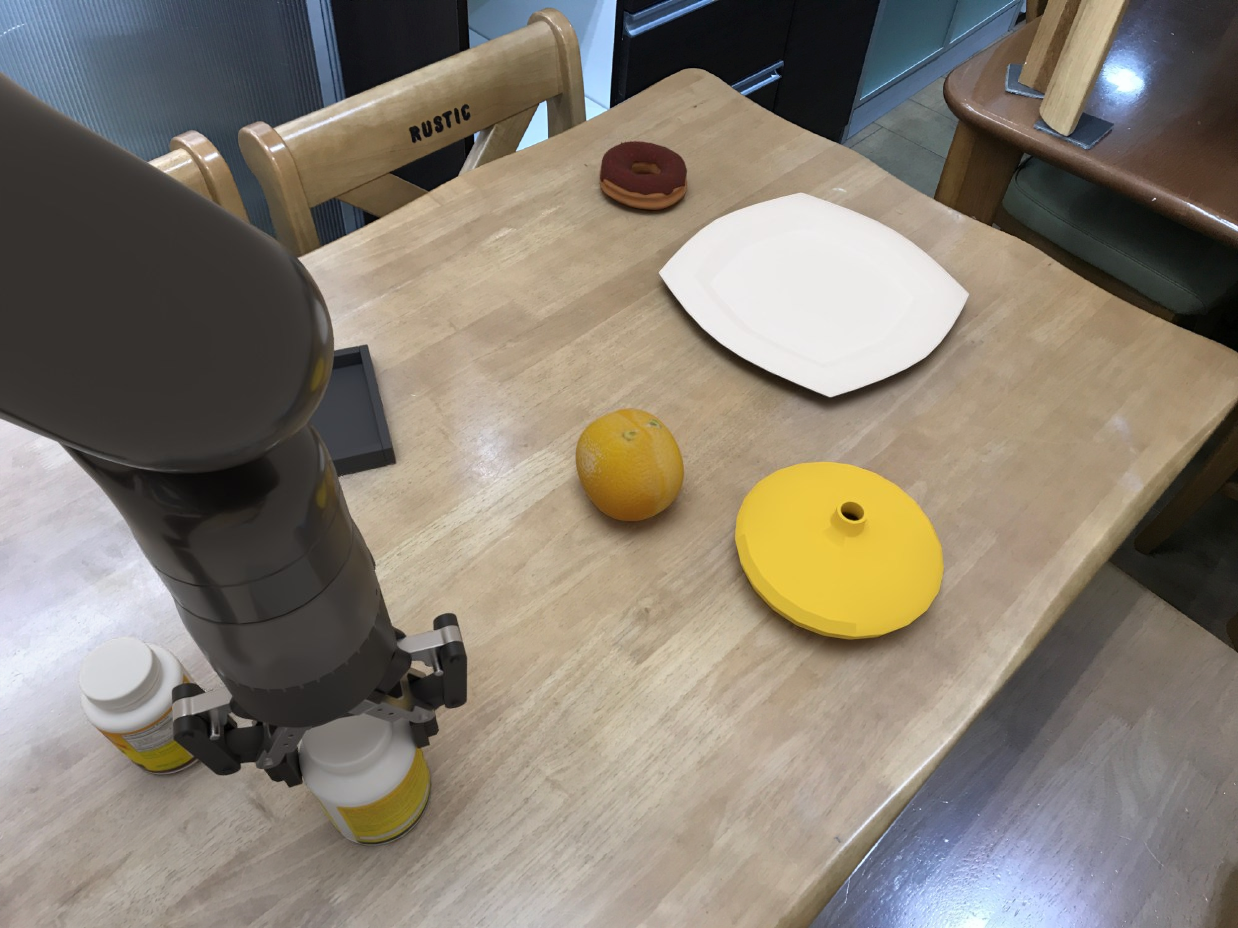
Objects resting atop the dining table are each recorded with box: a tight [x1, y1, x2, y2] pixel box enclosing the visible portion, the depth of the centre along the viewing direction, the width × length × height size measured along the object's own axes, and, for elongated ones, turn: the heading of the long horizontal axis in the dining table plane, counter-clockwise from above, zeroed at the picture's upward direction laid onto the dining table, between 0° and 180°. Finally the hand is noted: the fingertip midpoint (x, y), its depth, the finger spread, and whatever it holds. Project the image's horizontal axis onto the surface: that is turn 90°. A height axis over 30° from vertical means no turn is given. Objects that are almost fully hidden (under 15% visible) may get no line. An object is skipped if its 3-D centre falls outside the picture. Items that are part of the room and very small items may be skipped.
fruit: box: [575, 408, 685, 522], centre depth 69 cm, size 9×8×8 cm
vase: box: [734, 461, 945, 640], centre depth 66 cm, size 16×16×7 cm
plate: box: [658, 192, 970, 399], centre depth 88 cm, size 27×27×2 cm
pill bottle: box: [298, 713, 432, 846], centre depth 52 cm, size 6×6×12 cm
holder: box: [309, 343, 397, 477], centre depth 74 cm, size 16×13×2 cm
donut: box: [598, 140, 688, 211], centre depth 98 cm, size 10×10×4 cm
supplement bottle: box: [77, 636, 199, 775], centre depth 54 cm, size 6×6×10 cm
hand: (359, 749), depth 50 cm, fingers closed on pill bottle, 6 cm apart
